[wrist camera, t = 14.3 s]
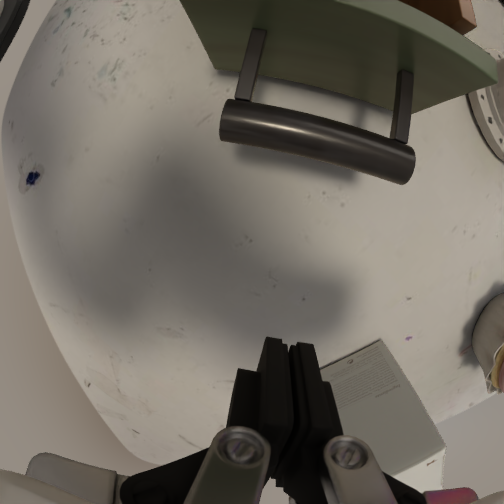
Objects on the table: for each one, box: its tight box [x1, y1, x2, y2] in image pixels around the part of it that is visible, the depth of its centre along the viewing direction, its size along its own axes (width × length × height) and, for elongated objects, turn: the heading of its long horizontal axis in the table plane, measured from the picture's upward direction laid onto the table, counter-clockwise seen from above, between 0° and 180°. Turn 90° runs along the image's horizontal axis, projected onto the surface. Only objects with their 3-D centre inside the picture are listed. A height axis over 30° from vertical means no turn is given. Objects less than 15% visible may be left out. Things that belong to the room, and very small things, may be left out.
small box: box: [320, 340, 447, 493], centre depth 14 cm, size 8×6×10 cm
